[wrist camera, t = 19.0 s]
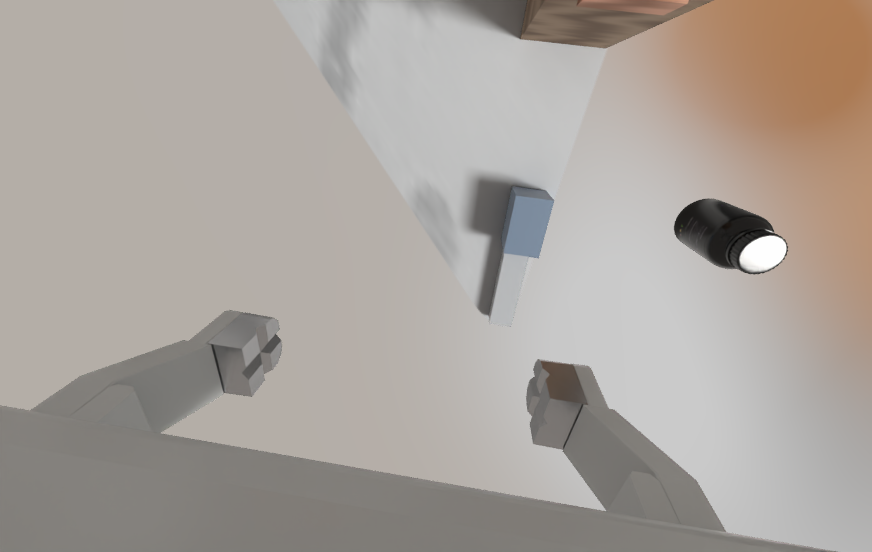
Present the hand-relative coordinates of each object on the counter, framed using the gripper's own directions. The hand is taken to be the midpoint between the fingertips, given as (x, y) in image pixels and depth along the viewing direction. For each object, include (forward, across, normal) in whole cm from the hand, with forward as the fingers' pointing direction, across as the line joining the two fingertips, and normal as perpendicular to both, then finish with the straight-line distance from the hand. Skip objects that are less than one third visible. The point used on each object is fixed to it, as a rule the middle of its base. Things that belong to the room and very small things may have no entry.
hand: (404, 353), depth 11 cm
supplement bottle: (+41, -34, +4) cm, 54 cm away
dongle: (+41, -10, +14) cm, 44 cm away
